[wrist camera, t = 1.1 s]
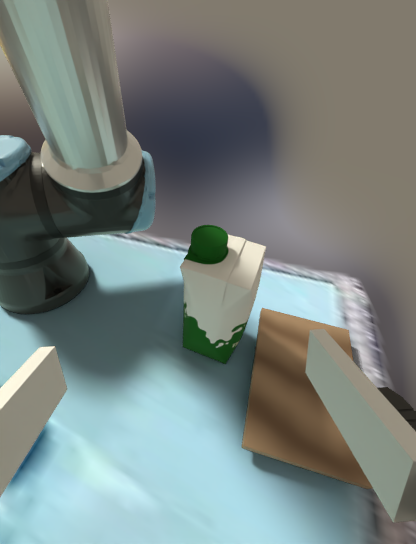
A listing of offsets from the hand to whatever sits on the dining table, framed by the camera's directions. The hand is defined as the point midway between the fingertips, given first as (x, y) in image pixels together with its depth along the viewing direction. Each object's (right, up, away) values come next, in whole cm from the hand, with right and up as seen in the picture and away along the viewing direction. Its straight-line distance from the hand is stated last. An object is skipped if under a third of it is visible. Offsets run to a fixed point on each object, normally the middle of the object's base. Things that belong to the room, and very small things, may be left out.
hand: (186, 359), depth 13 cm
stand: (+14, -12, +23) cm, 30 cm away
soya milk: (+2, -6, +28) cm, 29 cm away
